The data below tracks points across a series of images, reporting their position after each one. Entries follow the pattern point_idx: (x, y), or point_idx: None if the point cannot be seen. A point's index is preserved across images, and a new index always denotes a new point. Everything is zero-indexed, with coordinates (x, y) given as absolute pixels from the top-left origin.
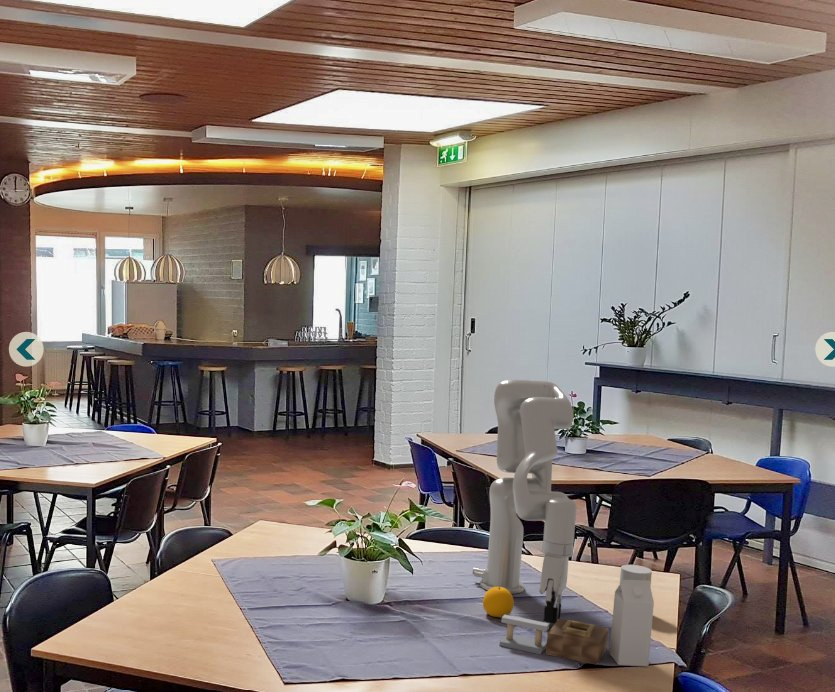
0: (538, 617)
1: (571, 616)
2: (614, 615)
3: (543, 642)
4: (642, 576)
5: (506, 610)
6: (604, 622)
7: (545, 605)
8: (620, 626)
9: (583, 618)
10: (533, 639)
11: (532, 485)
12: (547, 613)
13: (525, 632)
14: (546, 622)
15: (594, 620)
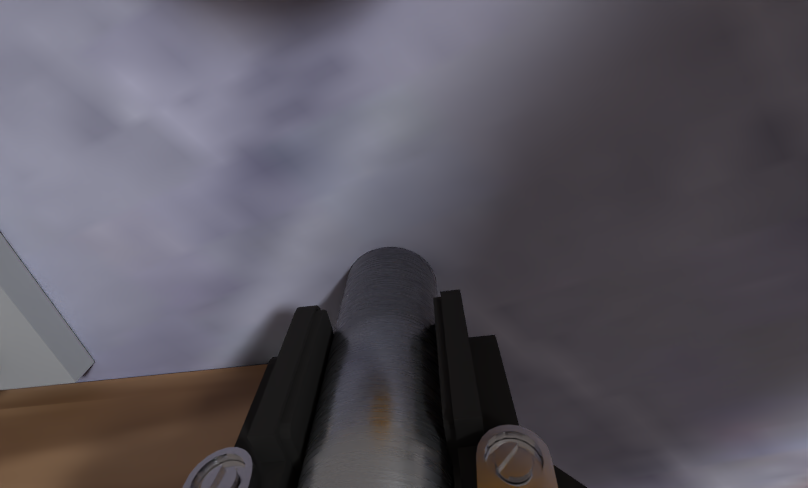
0: (652, 88)
1: (804, 290)
2: None
3: (47, 369)
4: None
5: None
6: (747, 447)
7: (197, 472)
8: None
9: (784, 357)
10: (16, 311)
11: None
12: (257, 403)
13: (178, 162)
14: (346, 301)
15: (765, 407)
